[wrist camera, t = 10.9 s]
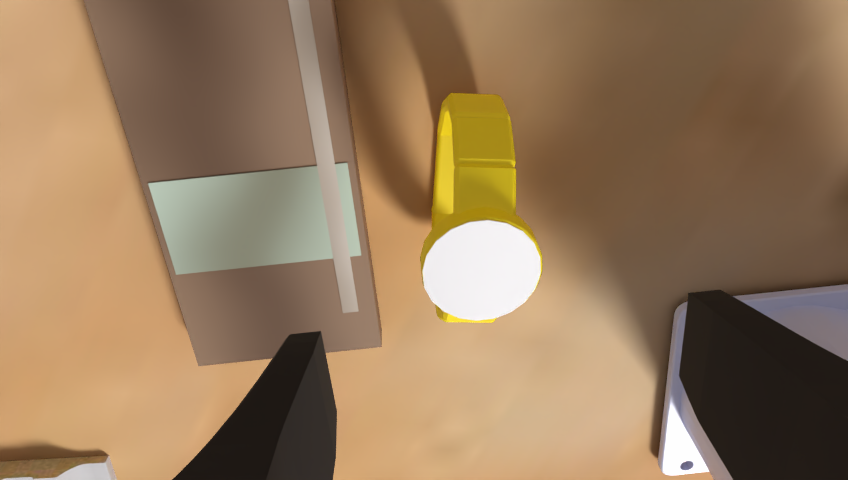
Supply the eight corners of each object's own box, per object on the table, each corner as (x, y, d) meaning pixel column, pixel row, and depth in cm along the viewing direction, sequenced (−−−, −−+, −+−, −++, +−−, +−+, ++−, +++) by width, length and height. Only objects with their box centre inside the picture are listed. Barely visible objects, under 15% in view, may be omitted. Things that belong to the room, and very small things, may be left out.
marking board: (263, -492, 13) (254, -520, 12) (381, 328, 23) (381, 347, 22) (-40, -463, 13) (-71, -490, 12) (205, 347, 23) (198, 366, 22)
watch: (491, 249, 22) (524, 377, 17) (407, 247, 22) (414, 376, 17) (515, 70, 19) (564, 161, 14) (416, 65, 18) (429, 157, 13)
